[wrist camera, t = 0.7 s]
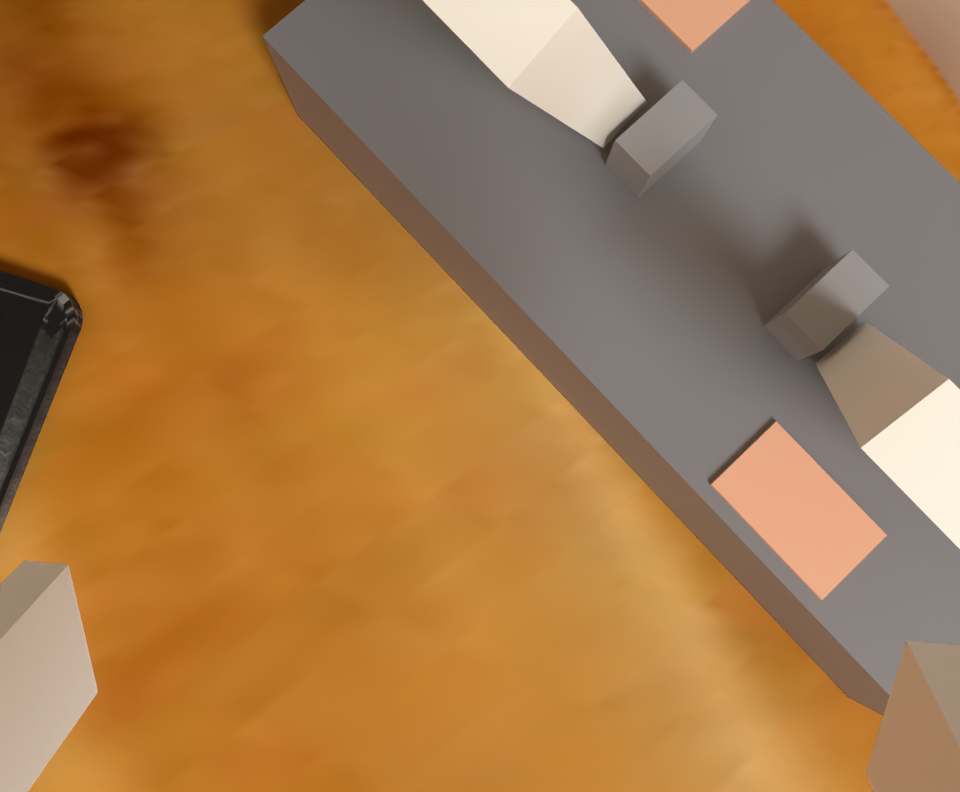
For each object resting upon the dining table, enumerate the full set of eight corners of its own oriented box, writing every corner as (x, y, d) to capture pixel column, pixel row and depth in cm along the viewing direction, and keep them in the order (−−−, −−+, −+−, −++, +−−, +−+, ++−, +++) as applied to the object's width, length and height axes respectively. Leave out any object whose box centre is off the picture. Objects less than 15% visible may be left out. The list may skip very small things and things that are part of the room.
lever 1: (603, 148, 28) (507, 87, 17) (482, 25, 29) (312, -113, 18) (647, 102, 28) (577, 7, 16) (522, -23, 28) (372, -199, 17)
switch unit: (848, 697, 32) (970, 761, 24) (297, 115, 35) (246, 2, 27) (1090, 449, 34) (1282, 434, 26) (541, -94, 36) (561, -260, 28)
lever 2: (948, 498, 27) (1090, 682, 16) (815, 363, 28) (861, 448, 16) (1002, 459, 26) (1191, 621, 15) (865, 321, 27) (948, 378, 16)
